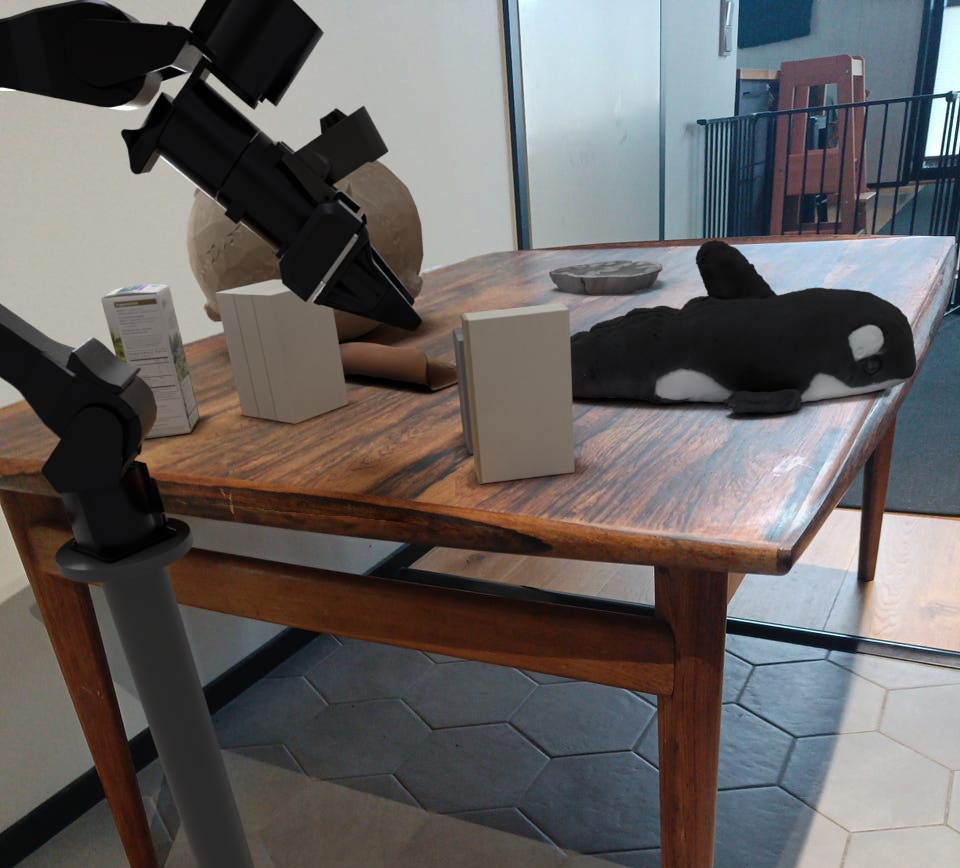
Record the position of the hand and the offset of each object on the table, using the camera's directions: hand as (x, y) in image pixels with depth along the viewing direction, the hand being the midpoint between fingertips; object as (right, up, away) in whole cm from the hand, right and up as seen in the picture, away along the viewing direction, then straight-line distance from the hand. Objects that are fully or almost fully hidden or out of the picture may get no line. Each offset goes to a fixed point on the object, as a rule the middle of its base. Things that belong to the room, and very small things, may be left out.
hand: (414, 315), depth 68 cm
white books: (-16, +1, +32) cm, 35 cm away
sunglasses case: (-5, +7, +40) cm, 41 cm away
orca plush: (+28, +2, +26) cm, 38 cm away
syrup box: (-29, -2, +29) cm, 41 cm away
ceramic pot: (-19, +21, +67) cm, 73 cm away
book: (+9, -11, +7) cm, 16 cm away
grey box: (+8, -6, +15) cm, 18 cm away
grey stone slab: (+27, +36, +84) cm, 95 cm away
